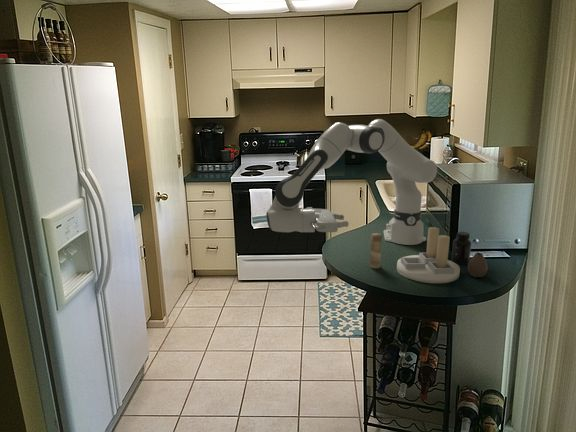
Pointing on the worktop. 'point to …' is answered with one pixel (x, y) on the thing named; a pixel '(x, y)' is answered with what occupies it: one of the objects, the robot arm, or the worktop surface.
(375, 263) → the stool leg
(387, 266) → the worktop surface
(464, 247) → the supplement bottle
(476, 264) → the vase
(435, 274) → the stool seat
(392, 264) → the worktop surface
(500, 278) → the worktop surface
